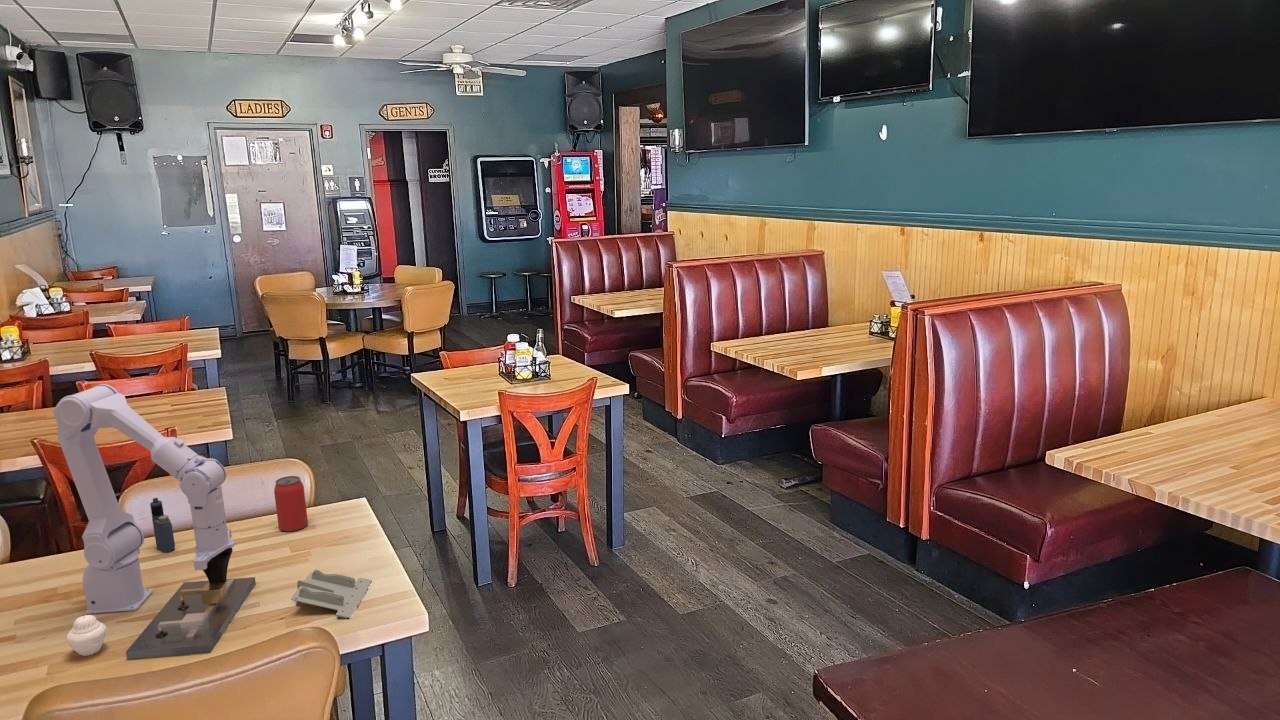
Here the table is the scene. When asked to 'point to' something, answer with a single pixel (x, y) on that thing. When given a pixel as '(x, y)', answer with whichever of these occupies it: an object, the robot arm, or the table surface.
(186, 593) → the brass slider
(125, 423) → the robot arm
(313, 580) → the metal bracket
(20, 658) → the table surface
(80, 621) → the muffin
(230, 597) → the plate
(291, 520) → the beer can
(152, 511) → the vaping device
